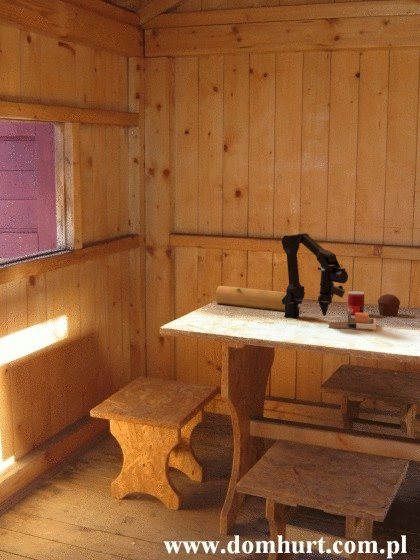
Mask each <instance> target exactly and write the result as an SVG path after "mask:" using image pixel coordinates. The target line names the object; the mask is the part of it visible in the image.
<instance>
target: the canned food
mask: <svg viewBox="0 0 420 560" xmlns="http://www.w3.org/2000/svg"><path fill="white" fill-rule="evenodd" d="M346 309H347V311H346V312H347V314H348V312H349V310H352V312H351V316H354V317H355V313H365V312H364V311H365V310H364V309H365V292H364V291H359V290H357V291H355V290H351V291H350V290H349V291H348V293H347V308H346Z"/></svg>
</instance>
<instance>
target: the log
mask: <svg viewBox="0 0 420 560" xmlns="http://www.w3.org/2000/svg"><path fill="white" fill-rule="evenodd" d="M285 296H286V291H285V292H284V291H275V290H267V289H257V288H249V287H248V288H247V287H239V286H226V285H219V286H218V287H216V292H215V297H214V298H215V302H216V303H217V304H220V305H226V306H235V307H236V306H237V307H243V308H253V309H261V310H272V311H278V312H279V311H283V312H285V305H284V304H282V299H283V298H284V297H285Z"/></svg>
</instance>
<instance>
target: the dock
mask: <svg viewBox="0 0 420 560" xmlns="http://www.w3.org/2000/svg"><path fill="white" fill-rule="evenodd" d="M368 319H371V321H370V324H366V323H356V324H353V326H350V325H349V324H348V320H346V321H345V320H344V321H330V322H329V325H328V329H337V330H352V331H365V332H366V331H369V332H376V326H377V319H376V318H374V317H373V318H372V317H371V318H370V317H368Z"/></svg>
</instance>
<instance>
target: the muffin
mask: <svg viewBox="0 0 420 560" xmlns="http://www.w3.org/2000/svg"><path fill="white" fill-rule="evenodd" d="M377 304H378V310H379V311H378V312H379V315H380V316H383V317H397V316H398V314H399V309H400V304H401V301H400V299H399V298H398V297H397V296H396V295H394V294H391V293H390V294H389V293H388V294H383V295H381V296H380V297H379V298H378V299H377Z"/></svg>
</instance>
